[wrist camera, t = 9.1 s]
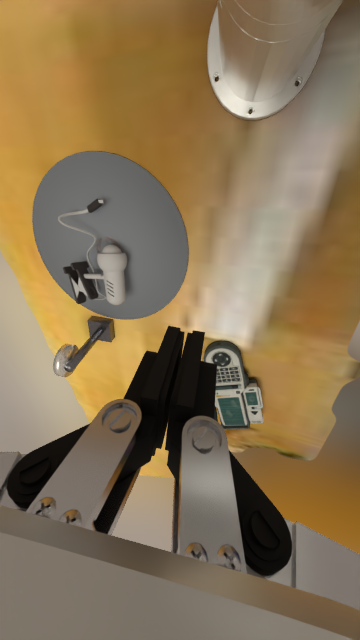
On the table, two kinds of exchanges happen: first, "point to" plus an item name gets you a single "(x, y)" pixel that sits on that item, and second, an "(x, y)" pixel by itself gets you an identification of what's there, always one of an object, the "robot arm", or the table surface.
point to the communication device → (233, 388)
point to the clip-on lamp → (108, 261)
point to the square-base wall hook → (72, 356)
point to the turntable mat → (112, 230)
